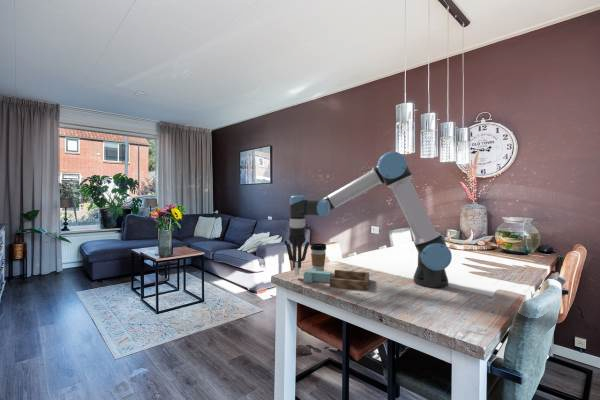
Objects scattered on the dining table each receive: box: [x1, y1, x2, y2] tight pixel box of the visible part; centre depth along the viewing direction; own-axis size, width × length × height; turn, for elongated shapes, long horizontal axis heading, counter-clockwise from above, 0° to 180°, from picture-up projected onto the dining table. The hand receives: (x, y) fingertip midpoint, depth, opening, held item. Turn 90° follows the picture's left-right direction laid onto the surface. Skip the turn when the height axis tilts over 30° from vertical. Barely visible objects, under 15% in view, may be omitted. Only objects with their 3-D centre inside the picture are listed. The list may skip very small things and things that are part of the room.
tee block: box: [303, 268, 332, 284], centre depth 147 cm, size 12×10×4 cm
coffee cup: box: [310, 242, 327, 271], centre depth 161 cm, size 8×8×15 cm
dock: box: [329, 269, 370, 291], centre depth 143 cm, size 17×16×4 cm
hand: (297, 274), depth 150 cm, fingers closed
